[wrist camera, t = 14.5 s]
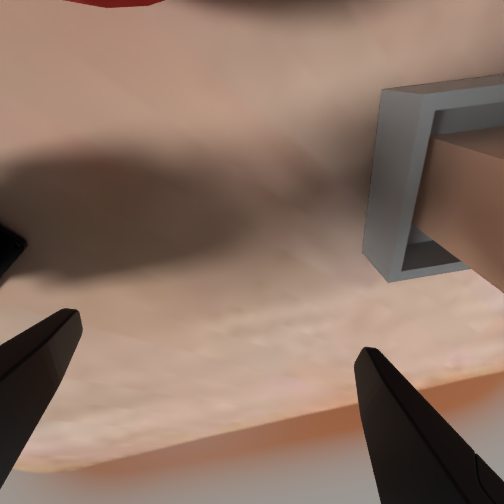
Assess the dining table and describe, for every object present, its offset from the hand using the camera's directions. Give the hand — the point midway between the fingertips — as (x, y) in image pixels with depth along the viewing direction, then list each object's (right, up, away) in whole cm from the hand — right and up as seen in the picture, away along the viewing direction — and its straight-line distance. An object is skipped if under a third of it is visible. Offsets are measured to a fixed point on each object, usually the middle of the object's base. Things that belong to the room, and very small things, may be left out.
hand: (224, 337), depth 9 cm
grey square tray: (+15, +8, +12) cm, 21 cm away
